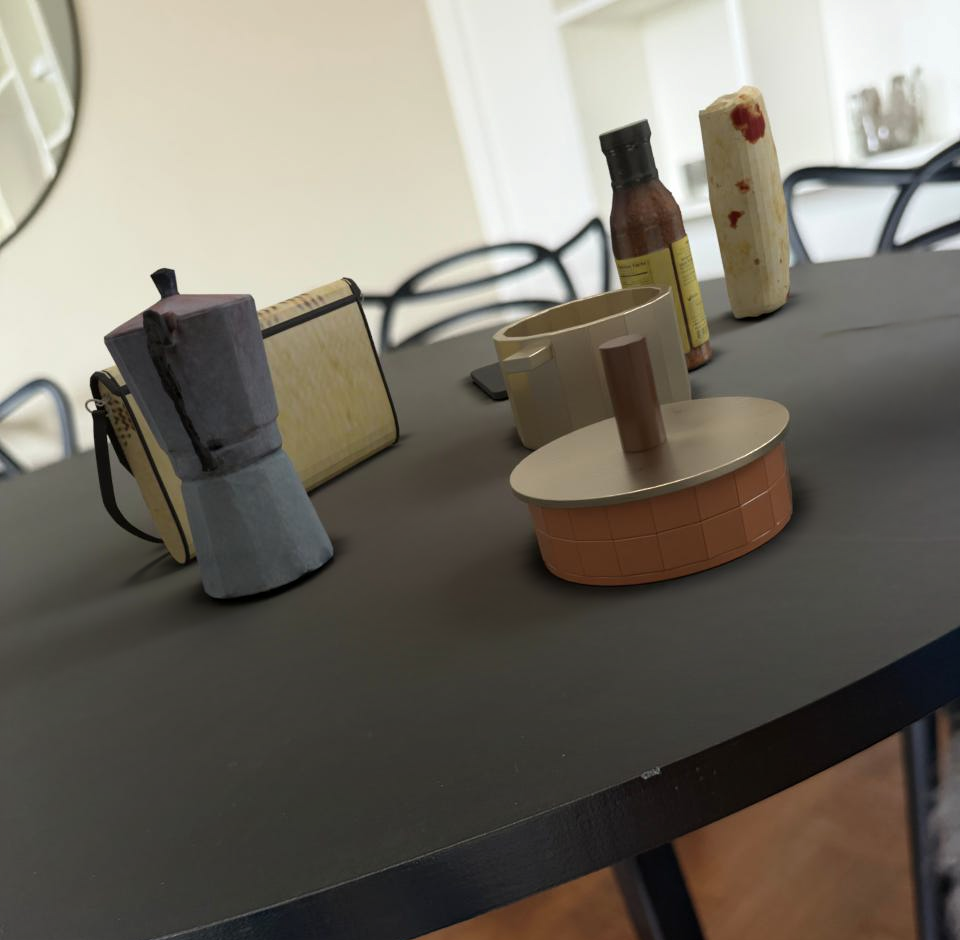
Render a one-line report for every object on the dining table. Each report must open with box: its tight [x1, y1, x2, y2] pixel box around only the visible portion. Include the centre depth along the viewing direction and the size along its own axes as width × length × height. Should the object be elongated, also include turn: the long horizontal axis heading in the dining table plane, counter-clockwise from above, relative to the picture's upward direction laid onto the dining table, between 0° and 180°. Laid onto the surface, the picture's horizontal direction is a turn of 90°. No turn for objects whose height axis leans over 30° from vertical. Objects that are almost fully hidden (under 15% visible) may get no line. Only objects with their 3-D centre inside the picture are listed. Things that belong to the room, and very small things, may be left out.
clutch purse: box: [84, 276, 401, 566], centre depth 83 cm, size 30×7×15 cm, turn 144°
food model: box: [698, 85, 791, 319], centre depth 97 cm, size 10×7×20 cm
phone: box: [469, 361, 509, 400], centre depth 104 cm, size 7×1×15 cm
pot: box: [492, 284, 693, 451], centre depth 79 cm, size 14×19×8 cm
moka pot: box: [103, 267, 334, 600], centre depth 64 cm, size 10×15×20 cm, turn 10°
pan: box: [527, 438, 794, 587], centre depth 55 cm, size 14×14×4 cm
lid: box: [509, 334, 792, 509], centre depth 53 cm, size 15×15×7 cm
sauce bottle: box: [598, 118, 713, 372], centre depth 86 cm, size 6×6×20 cm
